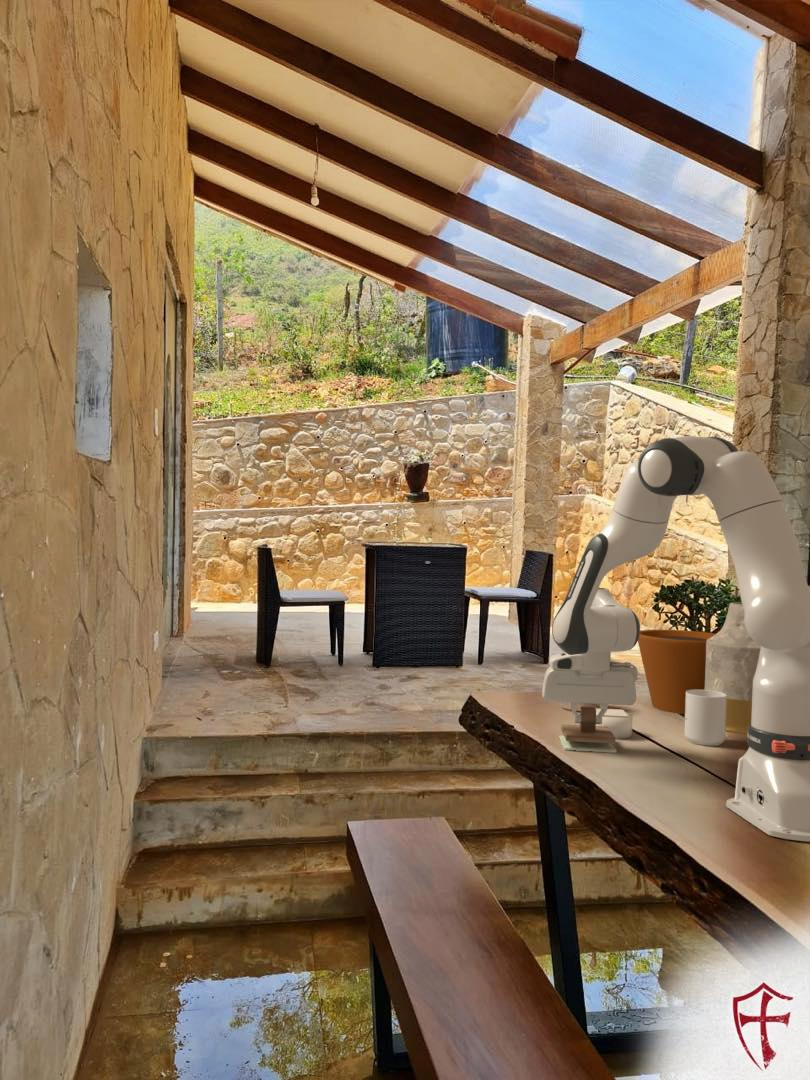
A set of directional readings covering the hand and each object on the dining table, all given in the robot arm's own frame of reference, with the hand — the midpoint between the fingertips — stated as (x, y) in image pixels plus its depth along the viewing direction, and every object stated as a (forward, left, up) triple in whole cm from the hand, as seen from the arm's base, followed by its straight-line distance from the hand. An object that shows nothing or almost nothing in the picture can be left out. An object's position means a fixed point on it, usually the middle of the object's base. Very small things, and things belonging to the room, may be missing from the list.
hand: (587, 723), depth 188 cm
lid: (0, 0, -3) cm, 3 cm away
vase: (+27, -42, -5) cm, 50 cm away
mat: (0, 0, -5) cm, 5 cm away
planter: (+39, -4, -5) cm, 40 cm away
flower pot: (+45, -31, -5) cm, 55 cm away
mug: (+10, -28, -5) cm, 30 cm away
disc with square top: (+12, -7, -5) cm, 15 cm away
